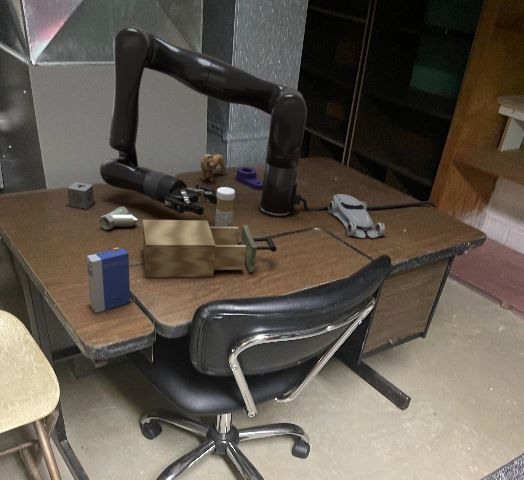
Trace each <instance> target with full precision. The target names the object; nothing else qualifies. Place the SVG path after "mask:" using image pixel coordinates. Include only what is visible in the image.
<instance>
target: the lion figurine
mask: <svg viewBox="0 0 524 480" xmlns="http://www.w3.org/2000/svg"><path fill="white" fill-rule="evenodd" d="M218 165H219V166H220V168H219V170H220V171H222V172H221V175H226V165H225V159H224V156H223V155H222V154H214V155H212V154H210V153H205V154H204V155H202V157H201V159H200V169H201V170H202V177H201V180H202V181H206V179H207V173H208V174H209V182H214V174H215V173H216V171H217V168H218Z"/></svg>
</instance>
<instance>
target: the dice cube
mask: <svg viewBox="0 0 524 480" xmlns="http://www.w3.org/2000/svg"><path fill="white" fill-rule="evenodd" d="M66 191H67V198H68V206H69V207H73V208H79V209H83V210H87V209H89V208H90V207H91V206H92V205H93V204H94V203H95V194H94V184H89V183H84V182H79V181H75V182H73V183H72V184H71V185H69V186H68V187H67V190H66Z"/></svg>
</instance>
